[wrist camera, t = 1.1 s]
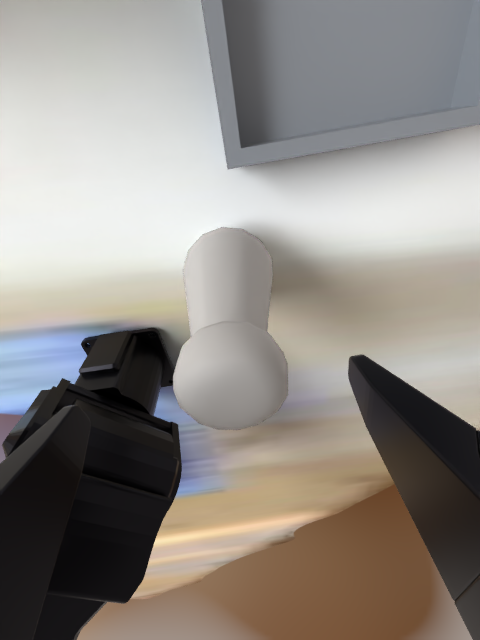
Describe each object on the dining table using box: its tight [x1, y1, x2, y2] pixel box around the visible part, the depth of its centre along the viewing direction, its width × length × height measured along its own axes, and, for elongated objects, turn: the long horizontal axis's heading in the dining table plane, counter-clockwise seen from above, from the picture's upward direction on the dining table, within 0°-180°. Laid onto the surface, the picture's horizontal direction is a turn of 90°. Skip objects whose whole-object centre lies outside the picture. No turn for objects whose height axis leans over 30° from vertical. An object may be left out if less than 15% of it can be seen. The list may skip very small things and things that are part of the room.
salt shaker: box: [173, 227, 288, 430], centre depth 15 cm, size 6×6×13 cm
